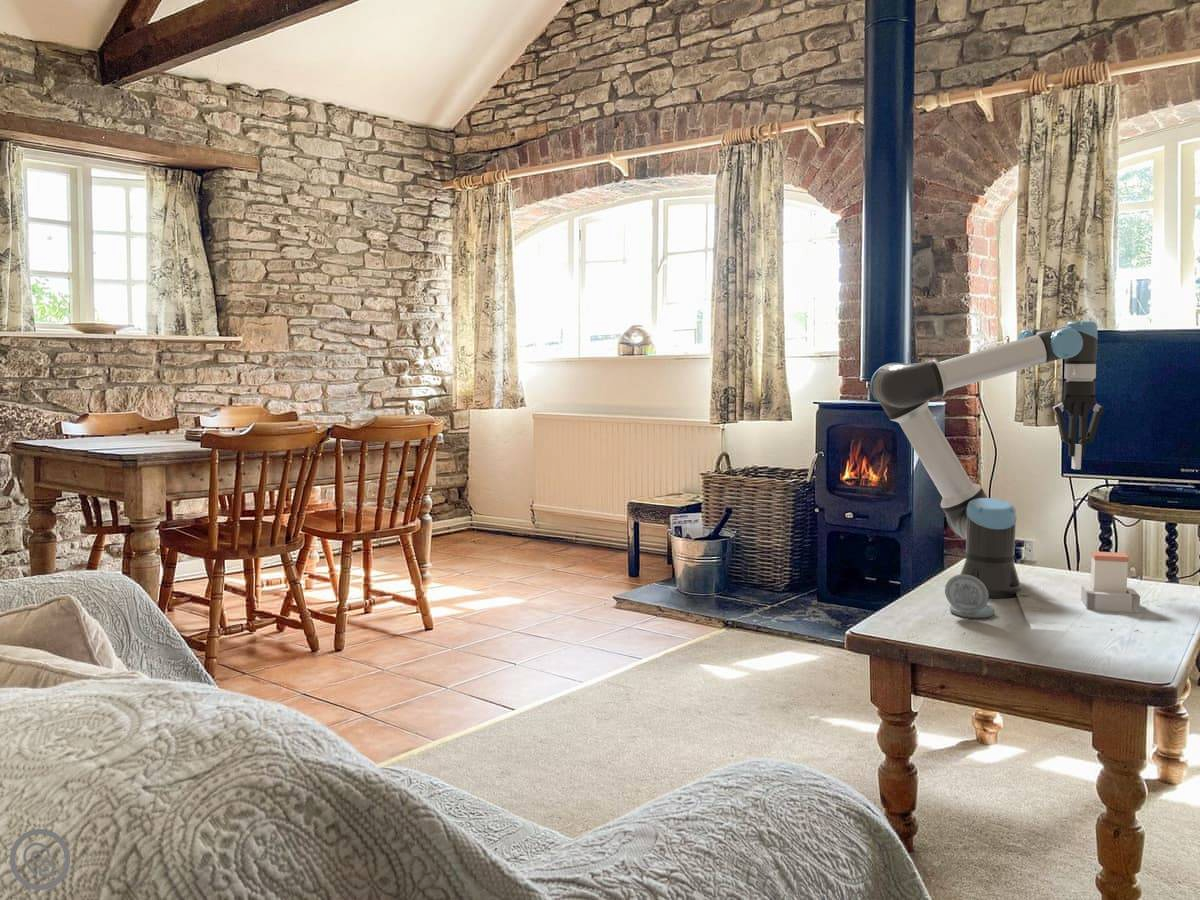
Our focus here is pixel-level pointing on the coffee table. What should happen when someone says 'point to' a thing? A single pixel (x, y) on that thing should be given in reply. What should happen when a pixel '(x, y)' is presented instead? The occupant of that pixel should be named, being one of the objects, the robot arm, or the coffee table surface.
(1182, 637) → the coffee table surface
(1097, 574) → the orange-topped white block
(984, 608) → the embossed oval plaque stand
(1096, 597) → the base
